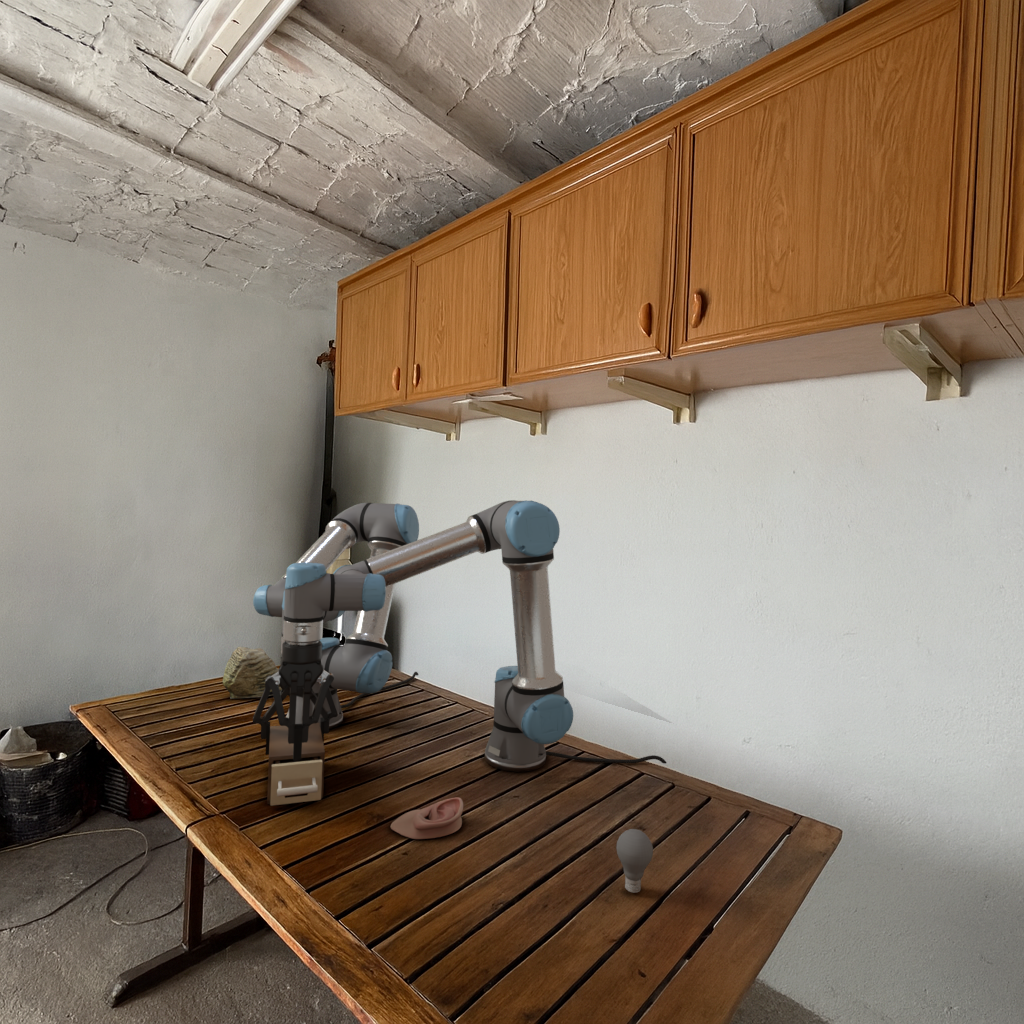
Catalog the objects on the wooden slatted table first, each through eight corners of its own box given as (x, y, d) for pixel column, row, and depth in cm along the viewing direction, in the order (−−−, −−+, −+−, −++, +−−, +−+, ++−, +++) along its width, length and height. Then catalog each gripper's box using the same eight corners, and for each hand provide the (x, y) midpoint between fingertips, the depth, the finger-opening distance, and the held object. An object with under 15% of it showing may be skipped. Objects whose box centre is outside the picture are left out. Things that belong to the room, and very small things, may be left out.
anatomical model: (384, 813, 120) (406, 787, 131) (383, 834, 120) (405, 806, 131) (452, 824, 117) (468, 796, 128) (451, 845, 117) (467, 815, 128)
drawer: (322, 811, 126) (324, 772, 126) (270, 818, 122) (271, 777, 122) (316, 766, 146) (317, 732, 146) (271, 770, 143) (272, 736, 143)
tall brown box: (323, 797, 133) (324, 751, 133) (267, 804, 130) (268, 757, 129) (318, 763, 150) (319, 722, 150) (268, 768, 146) (270, 726, 146)
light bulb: (610, 879, 108) (613, 822, 108) (644, 879, 109) (647, 822, 109) (619, 902, 102) (622, 840, 102) (655, 901, 103) (658, 840, 103)
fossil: (218, 695, 195) (220, 647, 195) (278, 685, 208) (279, 640, 207) (228, 703, 189) (230, 653, 188) (289, 692, 201) (290, 645, 201)
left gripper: (241, 661, 137) (238, 761, 138) (352, 656, 145) (348, 751, 146) (243, 653, 144) (240, 748, 145) (349, 648, 152) (345, 739, 153)
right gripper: (267, 646, 120) (261, 769, 121) (338, 644, 125) (332, 763, 125) (267, 637, 127) (262, 754, 128) (334, 636, 132) (329, 748, 132)
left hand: (294, 749), depth 145 cm, fingers closed on tall brown box, 11 cm apart
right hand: (297, 758), depth 126 cm, fingers closed
